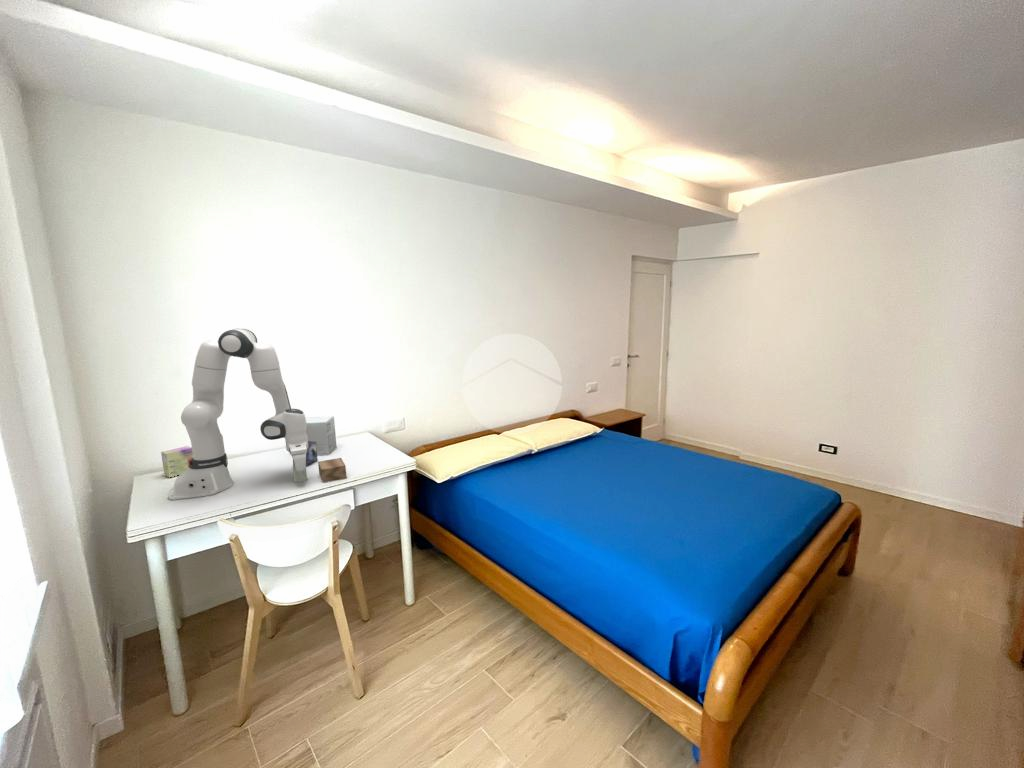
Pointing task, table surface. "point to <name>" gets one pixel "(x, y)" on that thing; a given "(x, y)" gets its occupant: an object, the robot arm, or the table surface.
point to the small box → (311, 454)
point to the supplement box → (322, 433)
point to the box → (176, 460)
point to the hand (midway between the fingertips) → (300, 474)
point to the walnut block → (332, 470)
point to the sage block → (299, 477)
